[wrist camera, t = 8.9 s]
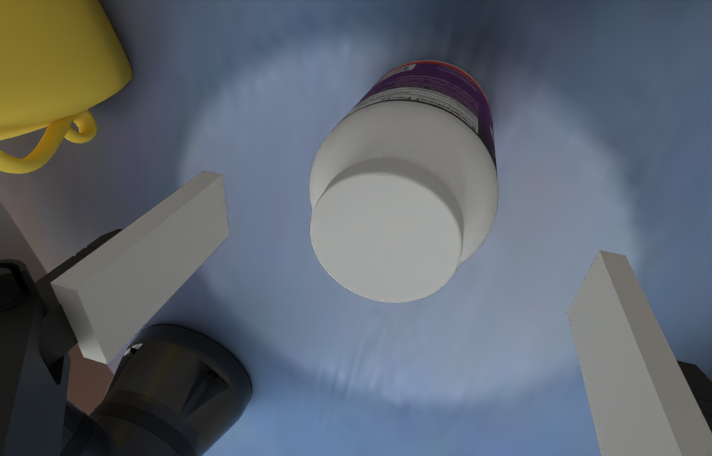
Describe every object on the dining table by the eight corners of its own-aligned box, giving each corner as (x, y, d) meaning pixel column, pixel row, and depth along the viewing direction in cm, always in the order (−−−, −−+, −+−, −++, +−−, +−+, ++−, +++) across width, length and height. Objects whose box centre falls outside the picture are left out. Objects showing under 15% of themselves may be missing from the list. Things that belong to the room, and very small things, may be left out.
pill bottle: (454, 197, 28) (436, 358, 17) (349, 151, 29) (258, 277, 17) (518, 87, 24) (556, 202, 12) (392, 32, 24) (309, 94, 12)
